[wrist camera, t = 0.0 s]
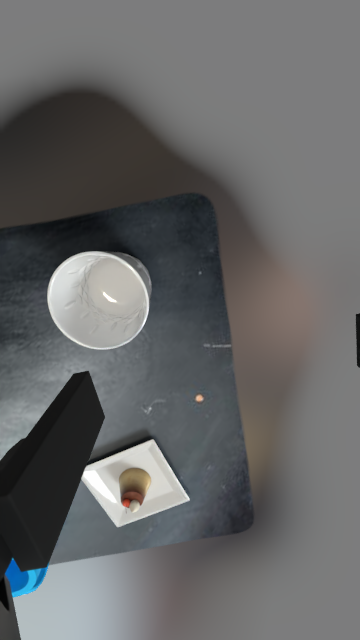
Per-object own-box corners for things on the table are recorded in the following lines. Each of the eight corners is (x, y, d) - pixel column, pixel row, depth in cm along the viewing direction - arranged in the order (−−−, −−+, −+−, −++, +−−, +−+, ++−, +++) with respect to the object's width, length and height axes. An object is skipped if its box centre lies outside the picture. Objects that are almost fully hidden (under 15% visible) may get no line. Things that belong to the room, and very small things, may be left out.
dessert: (77, 464, 38) (64, 495, 33) (153, 433, 36) (150, 461, 32) (118, 520, 41) (111, 555, 36) (189, 493, 40) (191, 526, 35)
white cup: (77, 257, 29) (30, 265, 20) (146, 239, 29) (132, 239, 19) (100, 323, 32) (68, 359, 22) (164, 307, 31) (159, 337, 22)
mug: (-2, 494, 39) (-46, 559, 31) (51, 483, 38) (20, 546, 31) (30, 550, 42) (-2, 621, 34) (79, 541, 42) (57, 609, 34)
